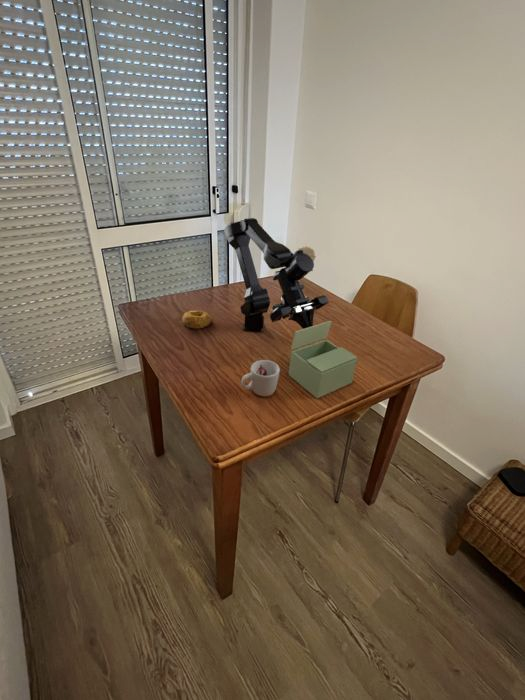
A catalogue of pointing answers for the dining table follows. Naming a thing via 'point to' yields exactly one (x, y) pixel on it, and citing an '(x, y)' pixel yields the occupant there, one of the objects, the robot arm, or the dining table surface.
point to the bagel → (196, 319)
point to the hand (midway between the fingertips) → (310, 334)
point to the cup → (262, 377)
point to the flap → (310, 334)
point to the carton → (322, 367)
